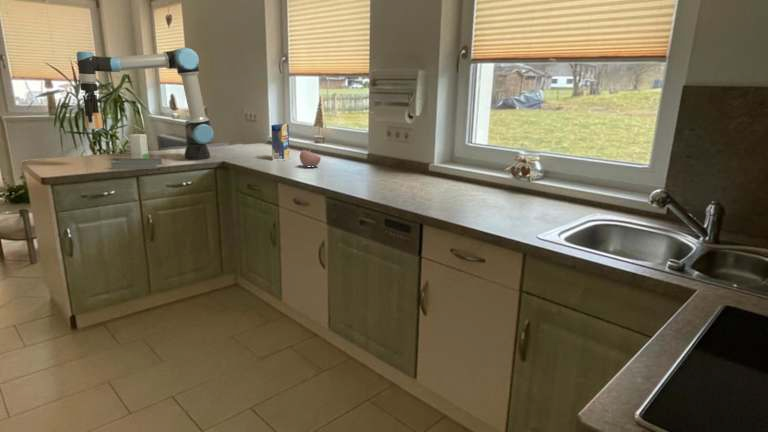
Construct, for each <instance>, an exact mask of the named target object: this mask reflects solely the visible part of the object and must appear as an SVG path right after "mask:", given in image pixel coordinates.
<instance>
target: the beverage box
mask: <svg viewBox="0 0 768 432" xmlns="http://www.w3.org/2000/svg"><path fill="white" fill-rule="evenodd" d="M270 127H271V156H272V157H271V159H285V158H287V157H289V158H290V129H289V128H290V127H289V124H284V123H276V124H272V125H271V126H270Z"/></svg>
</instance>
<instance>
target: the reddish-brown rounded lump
mask: <svg viewBox="0 0 768 432" xmlns="http://www.w3.org/2000/svg"><path fill="white" fill-rule="evenodd" d="M313 150H314V147H311V148H309V150H306V149H302V150H301V152H300V153H299V160H300V162H301V164H302V165H303V166H304V167H306V166H311V167H312V166H315V167H316V166H319V164H320V162H321V157H320V156H319V155H317V154H315V153H313V152H312V151H313ZM312 168H313V167H312Z"/></svg>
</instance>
